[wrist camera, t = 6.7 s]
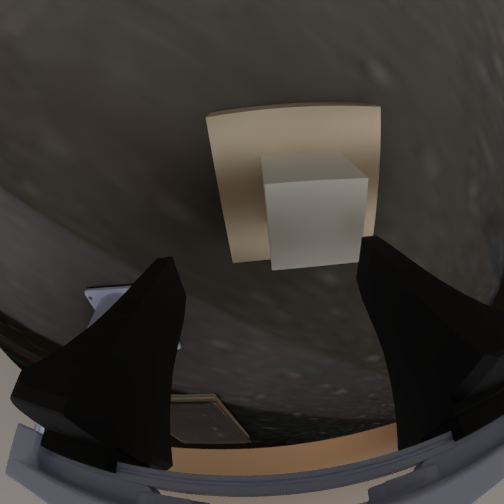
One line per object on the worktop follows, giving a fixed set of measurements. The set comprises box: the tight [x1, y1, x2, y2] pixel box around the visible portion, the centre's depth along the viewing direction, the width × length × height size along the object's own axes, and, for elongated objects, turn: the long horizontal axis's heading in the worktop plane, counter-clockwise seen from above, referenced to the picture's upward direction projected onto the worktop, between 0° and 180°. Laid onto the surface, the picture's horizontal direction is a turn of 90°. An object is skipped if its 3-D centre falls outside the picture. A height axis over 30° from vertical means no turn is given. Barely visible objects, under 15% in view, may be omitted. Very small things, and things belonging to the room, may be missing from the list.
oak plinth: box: [206, 102, 381, 263], centre depth 18 cm, size 10×10×3 cm
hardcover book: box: [170, 394, 251, 444], centre depth 43 cm, size 16×23×2 cm
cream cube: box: [261, 151, 368, 270], centre depth 15 cm, size 5×5×5 cm
